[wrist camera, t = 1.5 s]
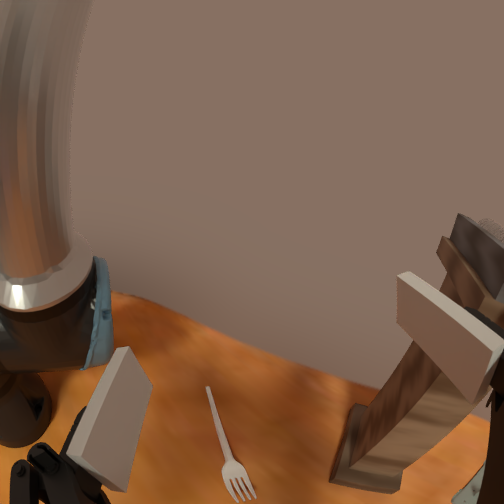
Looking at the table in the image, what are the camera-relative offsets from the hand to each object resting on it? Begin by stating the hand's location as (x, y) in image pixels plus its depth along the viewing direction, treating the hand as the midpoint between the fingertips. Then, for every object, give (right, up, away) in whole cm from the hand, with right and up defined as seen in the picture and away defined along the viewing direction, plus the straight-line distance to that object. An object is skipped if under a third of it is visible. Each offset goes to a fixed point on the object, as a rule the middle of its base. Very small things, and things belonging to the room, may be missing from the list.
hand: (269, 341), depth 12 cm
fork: (-5, -21, +18) cm, 29 cm away
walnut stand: (+17, -25, +17) cm, 34 cm away
